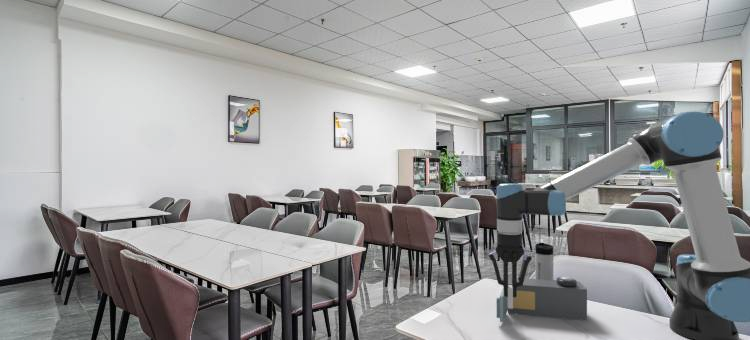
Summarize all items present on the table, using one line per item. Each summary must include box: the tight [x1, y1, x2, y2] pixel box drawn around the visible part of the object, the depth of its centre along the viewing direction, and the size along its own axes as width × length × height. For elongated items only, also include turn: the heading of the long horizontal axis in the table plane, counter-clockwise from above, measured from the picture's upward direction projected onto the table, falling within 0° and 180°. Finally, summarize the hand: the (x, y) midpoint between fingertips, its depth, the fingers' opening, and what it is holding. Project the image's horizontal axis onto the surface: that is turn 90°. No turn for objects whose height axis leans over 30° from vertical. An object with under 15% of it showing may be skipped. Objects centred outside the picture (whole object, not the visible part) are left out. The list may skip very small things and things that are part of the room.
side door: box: [496, 287, 508, 323], centre depth 118 cm, size 10×2×8 cm, turn 153°
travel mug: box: [534, 242, 554, 280], centre depth 137 cm, size 6×7×20 cm
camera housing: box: [507, 276, 588, 321], centre depth 123 cm, size 24×8×12 cm, turn 75°
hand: (510, 306), depth 114 cm, fingers closed
